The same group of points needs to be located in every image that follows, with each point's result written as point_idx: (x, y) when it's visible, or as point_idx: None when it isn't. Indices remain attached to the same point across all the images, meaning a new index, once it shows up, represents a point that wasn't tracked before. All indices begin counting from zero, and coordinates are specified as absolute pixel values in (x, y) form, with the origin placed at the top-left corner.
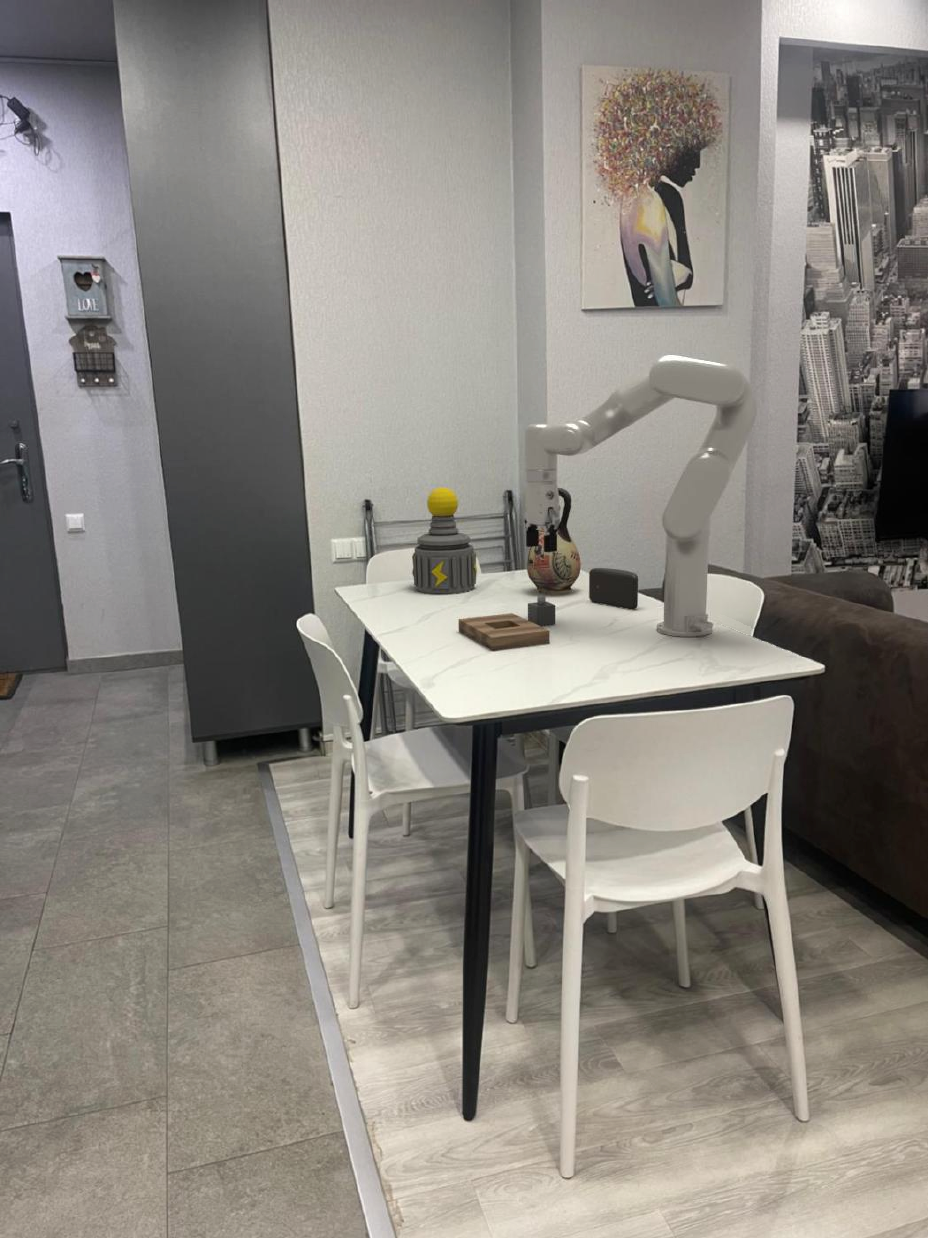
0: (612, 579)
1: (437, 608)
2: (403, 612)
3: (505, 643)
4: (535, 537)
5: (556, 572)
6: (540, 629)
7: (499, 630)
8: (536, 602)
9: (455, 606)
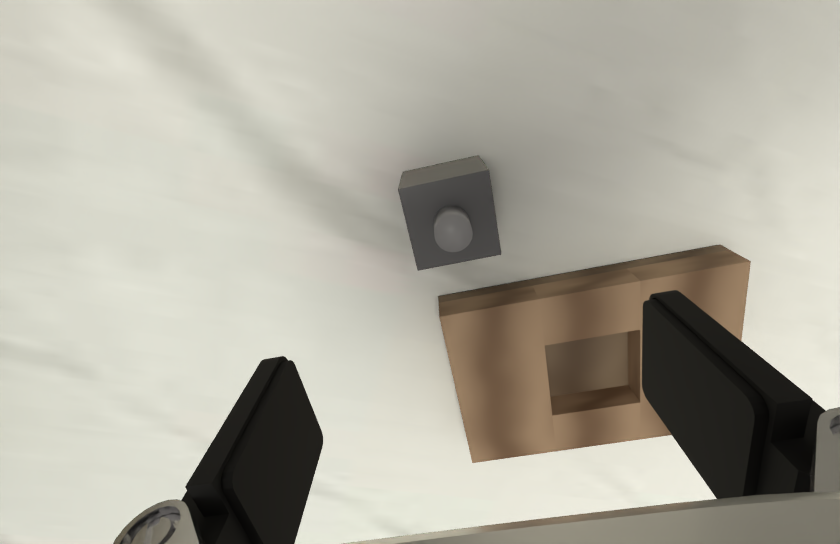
0: None
1: (165, 441)
2: None
3: None
4: (275, 443)
5: None
6: (721, 285)
7: None
8: (410, 233)
9: (136, 397)
